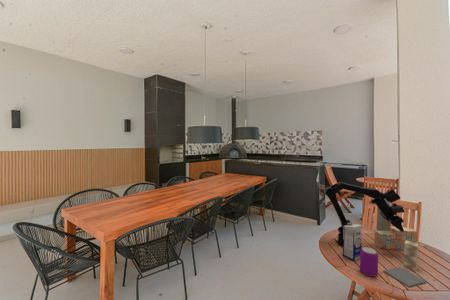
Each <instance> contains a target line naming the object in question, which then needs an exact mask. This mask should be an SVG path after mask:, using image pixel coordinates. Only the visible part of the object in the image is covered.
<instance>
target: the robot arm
mask: <svg viewBox="0 0 450 300" xmlns="http://www.w3.org/2000/svg"><path fill="white" fill-rule="evenodd" d="M342 190H346V191H350V192H354V193H359V194H363V195H365V196H367V197H369V198H370V201H369V203H371V205H374V204H375V205H376V207H378V208H379V210H380V215H381V216H382V217H383V218H385V219H386V220H387V221H389V222H390V223H391V225H392V227H396V228H397V229H399V230H400V231H402V232H404V229H403V227H404V226H403V223H404V219H403V217H401V216H399V215H397V214H398V213H399V214H400V213H402V214H404V213H405V209H404V206H402V205H400V204H397V203H396V202H397V201H399V200H401V196H400V195H399V194H398V193H397V192H396V191H395V190H394V189H389V190H388V191H385V192H381V191H380V190H378V189H376V188H375V187H370V186H369V187H366V186H365V187H363V186H358V185H355V184H351V183H350V184H349V183H346V182H343V181H340V182H337V183H336V184H333V185H330V186H326V187H325V188H324V190H323V192H324V193H325V195H326V196H327V198H328V199H329V201H330V202H331V204H332V206H333V208H334V210H335V212H336V215H337V217H338V219H339V221H340V226H339V227H338V228H337V230H338V234H337V240H336V241H335V242H336V243H337V244H338V245H340V246H342V247H343V229H344V226H346V225H347V223H352V222H351V220H349V219H347V217H346V216H345V214H344V212H343V210H342V208H341V206H340V204H339V202H338V199H337V194H338V193H339V192H341V191H342ZM384 198H385V200H386V201H387V202H390V204H391V206H389V205H388V204H387V202H386V201H385V200H384Z"/></svg>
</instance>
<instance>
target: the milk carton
mask: <svg viewBox="0 0 450 300" xmlns="http://www.w3.org/2000/svg"><path fill="white" fill-rule="evenodd" d="M362 231H363V224H358V223H357V224H356V223H353V222H351V223H347V225H346V226H344V229H343V246H342V256H343V257H344V258H347V259H349V260H351V261H352V262H356V261H359V260H360V252H361V250H362V241H363V240H362V237H363V235H362V234H363V233H362Z"/></svg>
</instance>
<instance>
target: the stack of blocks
mask: <svg viewBox="0 0 450 300" xmlns="http://www.w3.org/2000/svg"><path fill="white" fill-rule="evenodd" d="M402 227H403V229H404V232H402V231H400V230H399V229H397V228H396V227H394V226H390V229H389V231H377V230H375V231H374V244H375V245H376V247H378V248H379V249H386V250H389V249H390V250H403V251H404V250H405V242H406V240H407V241H411V242H414V243H418V242H417V241H418V232H417V230H415V229H413V228H411V227H405V226H402Z"/></svg>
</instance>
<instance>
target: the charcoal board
mask: <svg viewBox="0 0 450 300" xmlns="http://www.w3.org/2000/svg"><path fill="white" fill-rule="evenodd" d="M382 272H383V273H384V274H386V275H387V276H389V277H391V278H392V279H394V280H396V281H397V282H399V283H401V284H403V285H404V286H406V287H407V288H412V287H417V286H420V285H423V284H427V283H428V281H427V280H426V279H424V278H422V277H419V276H418V275H416V274H414V273H412V271H411V272H410V271H409V270H407V269H405V267H404V268H403V267H402V266H396V267H391V268H388V269H384V270H382Z"/></svg>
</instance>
